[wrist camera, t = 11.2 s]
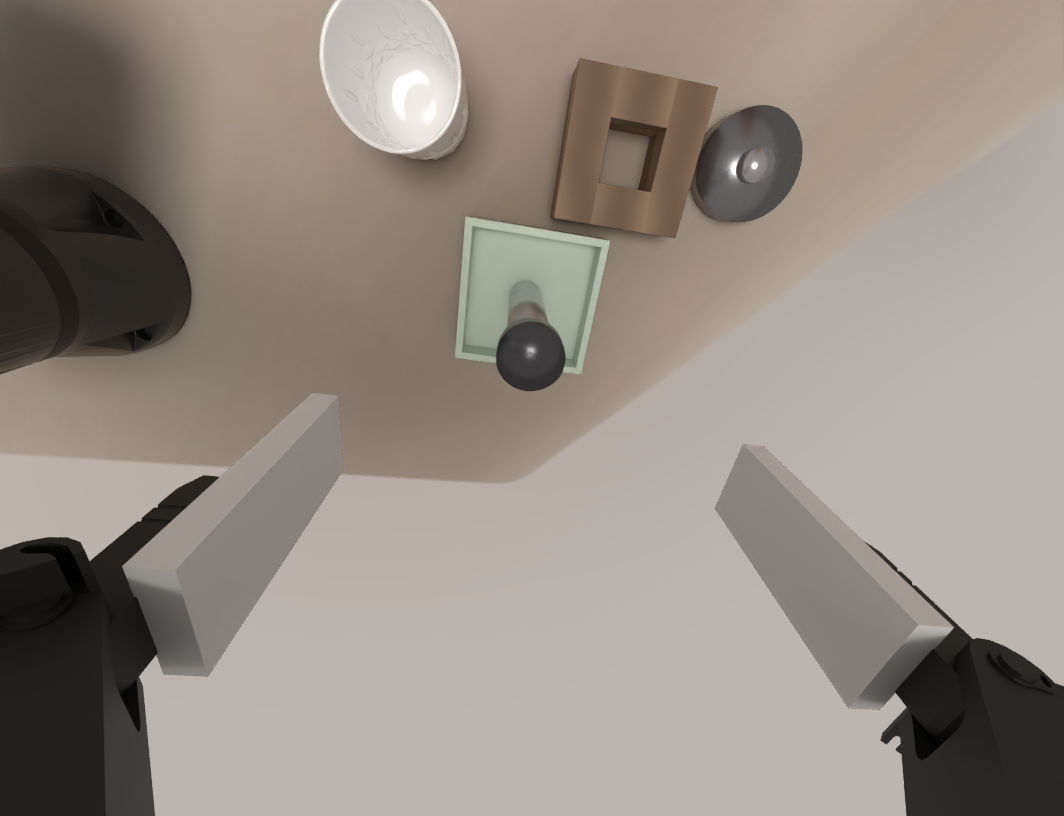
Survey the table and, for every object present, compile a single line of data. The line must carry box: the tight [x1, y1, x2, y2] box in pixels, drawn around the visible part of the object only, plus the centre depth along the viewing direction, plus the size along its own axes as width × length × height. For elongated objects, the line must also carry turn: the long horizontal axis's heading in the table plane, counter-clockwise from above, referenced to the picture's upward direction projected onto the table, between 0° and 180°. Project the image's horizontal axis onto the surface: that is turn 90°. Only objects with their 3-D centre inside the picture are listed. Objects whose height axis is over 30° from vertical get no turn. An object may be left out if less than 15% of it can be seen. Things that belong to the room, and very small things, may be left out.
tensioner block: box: [551, 58, 718, 238], centre depth 32 cm, size 10×10×4 cm
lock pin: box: [496, 281, 566, 391], centre depth 31 cm, size 4×4×16 cm
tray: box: [455, 216, 610, 374], centre depth 37 cm, size 12×12×3 cm
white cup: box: [319, 0, 469, 160], centre depth 28 cm, size 8×8×10 cm
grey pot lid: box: [690, 105, 802, 222], centre depth 33 cm, size 8×8×4 cm
